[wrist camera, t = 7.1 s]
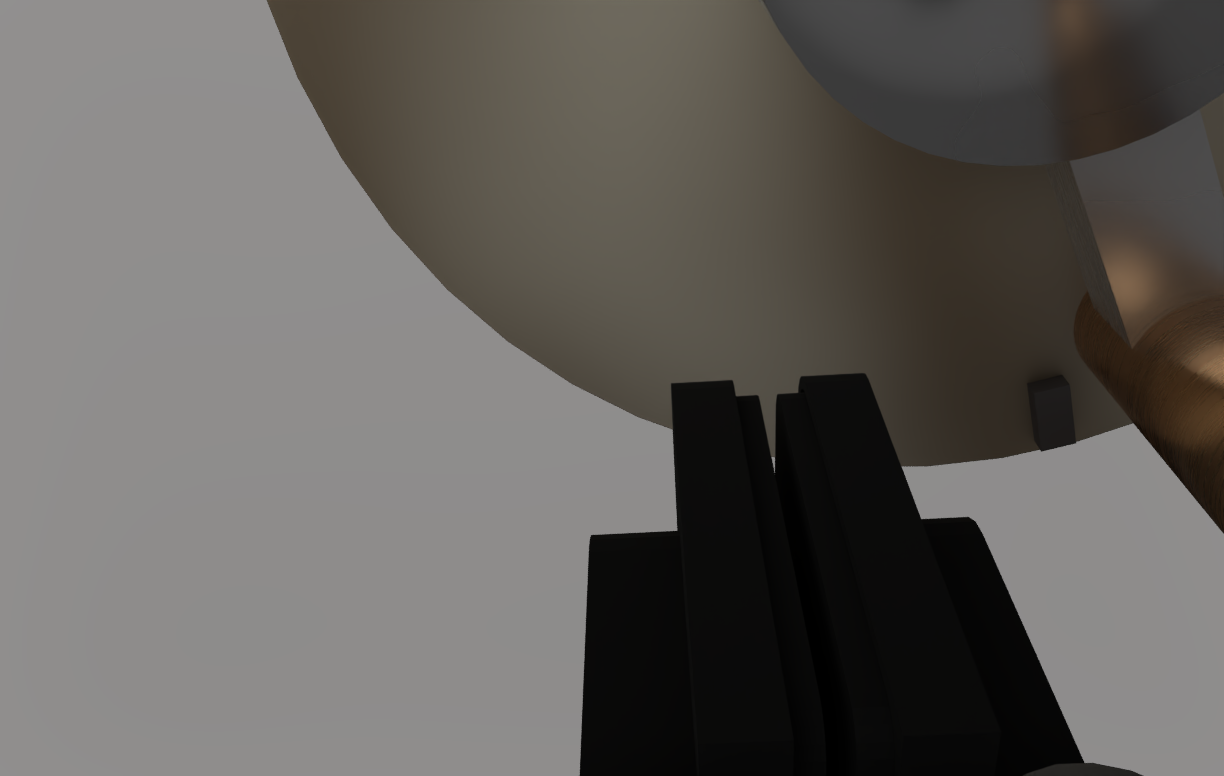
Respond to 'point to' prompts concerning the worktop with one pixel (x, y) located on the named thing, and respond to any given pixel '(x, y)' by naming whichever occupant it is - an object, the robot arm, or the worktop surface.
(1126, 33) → the crank with wooden handle
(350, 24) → the stand
